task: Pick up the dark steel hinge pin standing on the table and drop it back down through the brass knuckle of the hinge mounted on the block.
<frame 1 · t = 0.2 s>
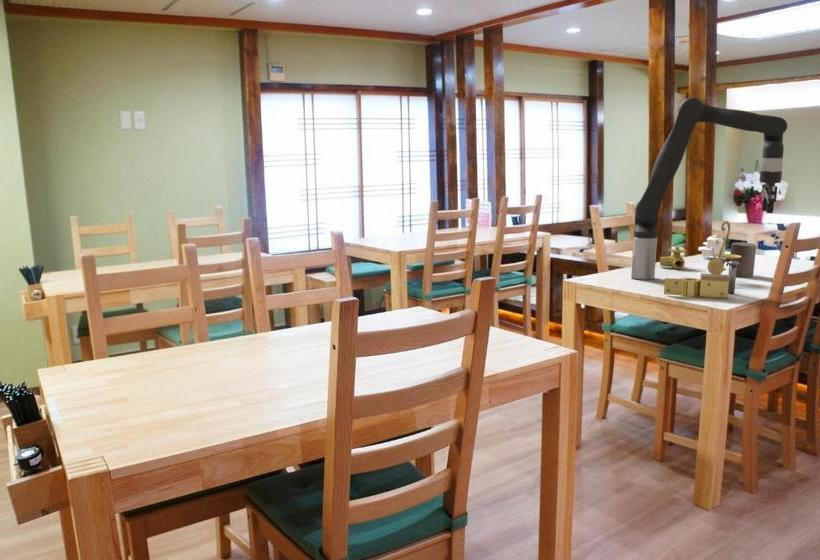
hand: (767, 212, 264), 29 cm above the table, tool pointing down, fingers open, 8 cm apart
ball valve: (671, 268, 308), on the table
hinge pin: (731, 293, 251), on the table
hinge block: (689, 295, 248), on the table
wall sconce: (723, 282, 274), on the table
pillar candle: (740, 276, 288), on the table
mechanical part: (710, 259, 333), on the table
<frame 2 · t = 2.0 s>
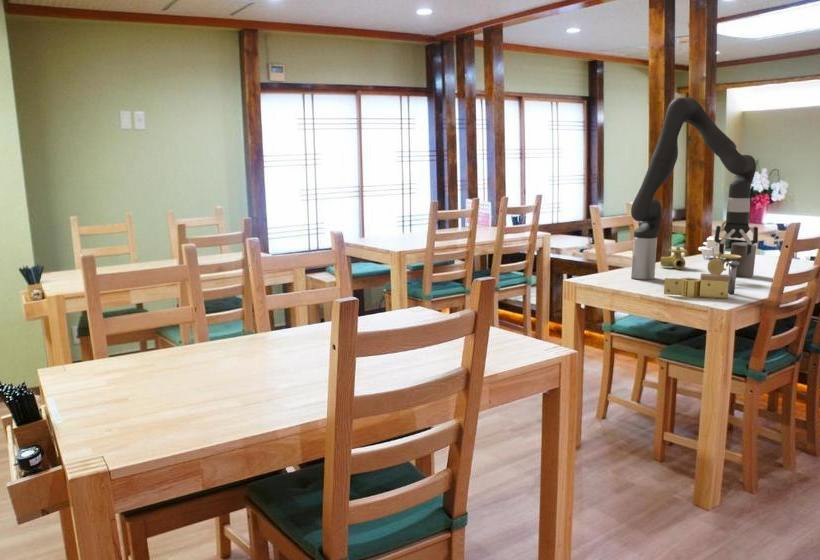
hand: (734, 254, 248), 15 cm above the table, tool pointing down, fingers open, 8 cm apart
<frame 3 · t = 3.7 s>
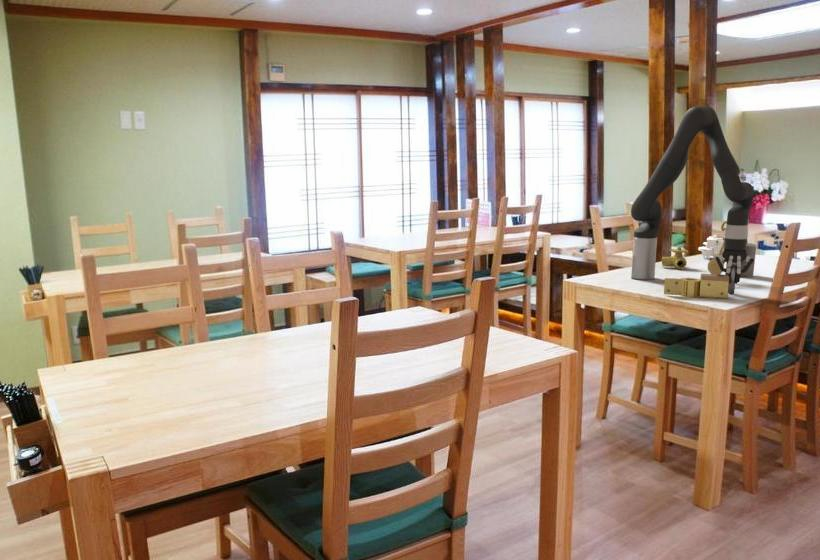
hand: (732, 283, 250), 4 cm above the table, tool pointing down, fingers closed on hinge pin, 2 cm apart
hinge pin: (731, 293, 251), on the table, touching gripper
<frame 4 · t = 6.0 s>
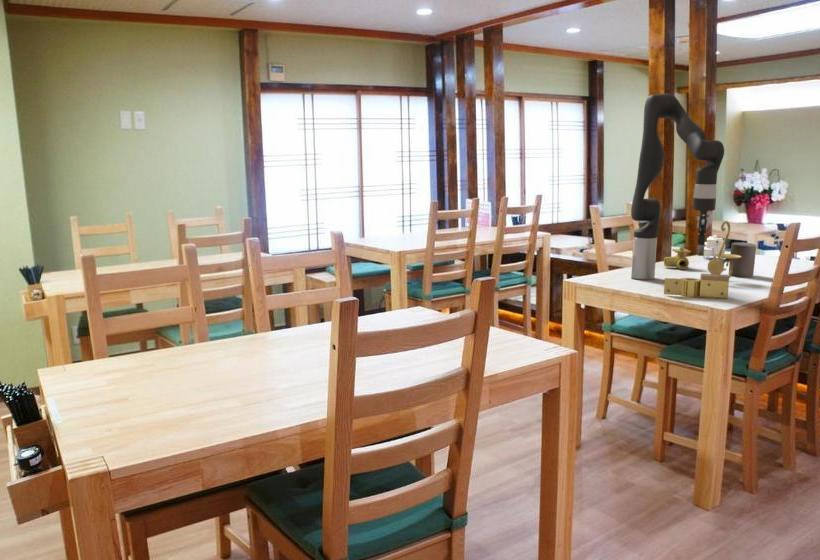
hand: (701, 244, 245), 19 cm above the table, tool pointing down, fingers closed on hinge pin
hinge pin: (700, 255, 246), point 15 cm above the table, touching gripper
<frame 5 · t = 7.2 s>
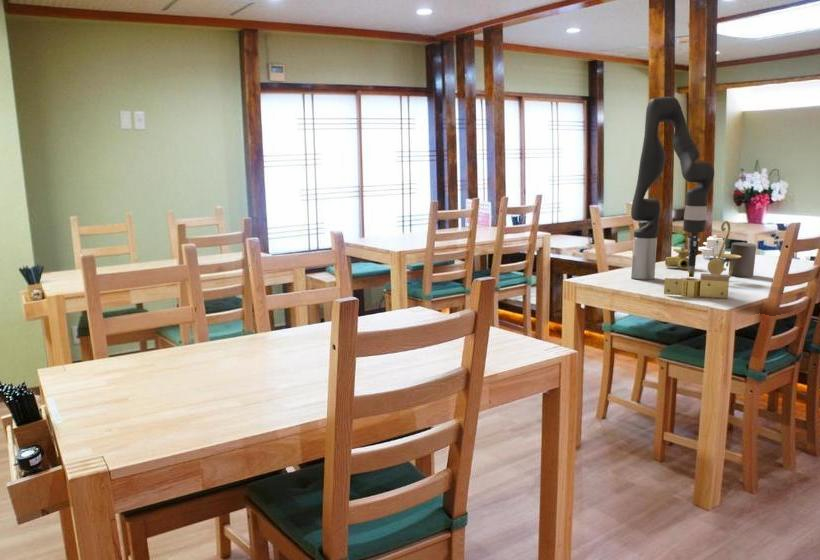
hand: (691, 265, 246), 11 cm above the table, tool pointing down, fingers closed on hinge pin
hinge pin: (690, 276, 247), point 7 cm above the table, touching gripper
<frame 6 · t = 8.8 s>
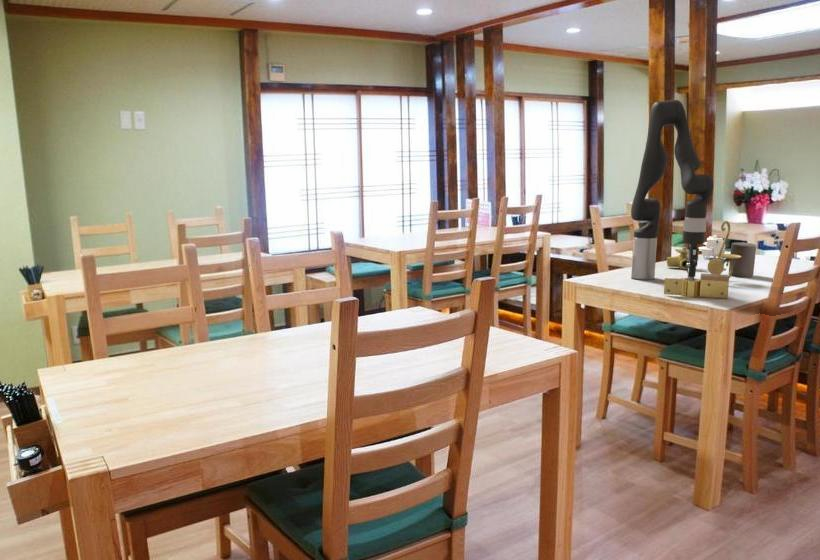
hand: (691, 274, 247), 8 cm above the table, tool pointing down, fingers open, 6 cm apart
hinge pin: (689, 295, 248), resting in hinge block
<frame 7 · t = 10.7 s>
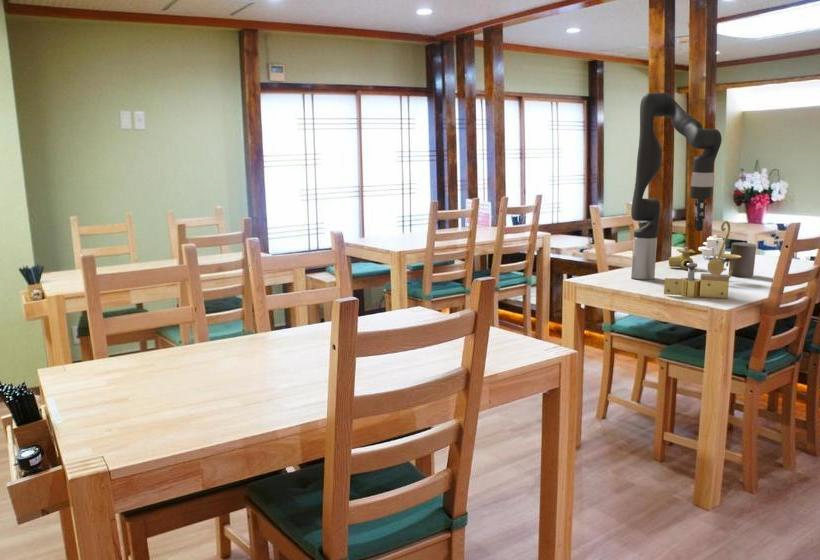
hand: (698, 229, 248), 24 cm above the table, tool pointing down, fingers open, 8 cm apart
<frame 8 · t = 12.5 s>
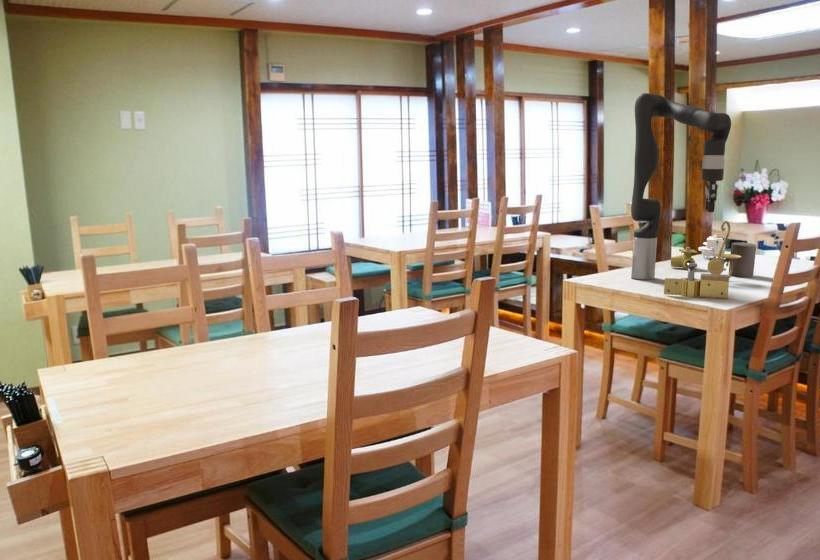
hand: (709, 211, 254), 30 cm above the table, tool pointing down, fingers open, 8 cm apart
at the end: hinge pin 0.5 cm off-centre on the hinge block, point 0.0 cm above the hinge block's base; hinge pin tilted 0°; the gripper is holding nothing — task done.
